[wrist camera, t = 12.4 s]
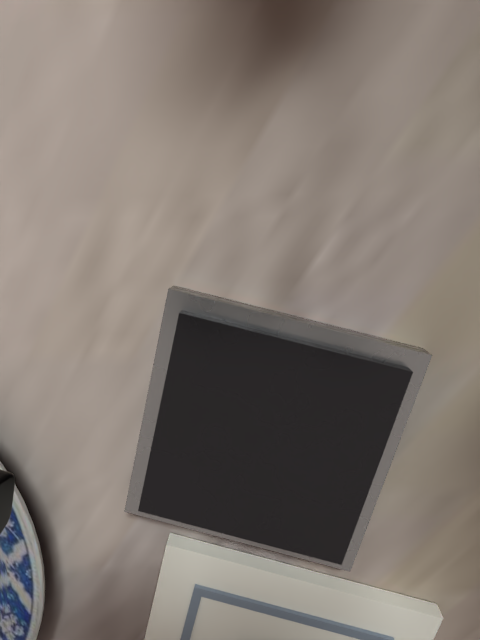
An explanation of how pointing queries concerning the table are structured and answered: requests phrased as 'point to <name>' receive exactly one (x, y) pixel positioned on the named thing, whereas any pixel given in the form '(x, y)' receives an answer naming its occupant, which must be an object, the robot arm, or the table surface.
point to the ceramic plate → (20, 575)
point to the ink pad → (270, 427)
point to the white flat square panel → (273, 601)
